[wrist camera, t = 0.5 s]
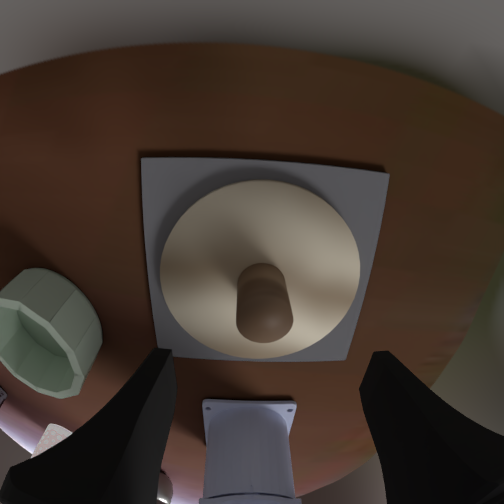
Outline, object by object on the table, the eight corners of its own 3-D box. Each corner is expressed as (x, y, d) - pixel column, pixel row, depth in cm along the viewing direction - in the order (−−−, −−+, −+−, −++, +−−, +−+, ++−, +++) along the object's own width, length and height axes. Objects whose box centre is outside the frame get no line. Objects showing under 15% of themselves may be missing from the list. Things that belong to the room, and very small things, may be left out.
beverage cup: (86, 452, 30) (62, 536, 18) (47, 435, 29) (17, 514, 17) (82, 432, 28) (50, 527, 15) (39, 413, 27) (0, 501, 14)
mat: (344, 356, 22) (345, 360, 22) (160, 351, 22) (159, 355, 22) (386, 172, 17) (389, 174, 16) (143, 157, 16) (141, 158, 16)
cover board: (335, 350, 22) (350, 394, 18) (170, 346, 21) (158, 391, 17) (371, 188, 17) (406, 211, 13) (158, 175, 16) (131, 195, 12)
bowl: (113, 367, 23) (97, 407, 19) (31, 350, 22) (9, 382, 18) (89, 271, 19) (59, 308, 15) (0, 263, 19) (-32, 291, 15)
